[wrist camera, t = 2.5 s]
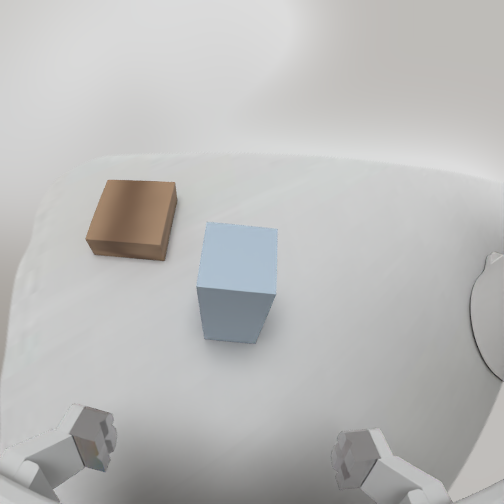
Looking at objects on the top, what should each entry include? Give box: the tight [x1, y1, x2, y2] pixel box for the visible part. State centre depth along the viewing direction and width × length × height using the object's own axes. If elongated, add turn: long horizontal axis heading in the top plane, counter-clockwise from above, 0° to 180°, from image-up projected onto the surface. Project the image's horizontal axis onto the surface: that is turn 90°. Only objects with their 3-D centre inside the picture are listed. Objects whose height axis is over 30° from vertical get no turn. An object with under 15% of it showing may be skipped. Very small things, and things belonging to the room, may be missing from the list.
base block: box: [86, 180, 177, 261], centre depth 28 cm, size 7×7×3 cm
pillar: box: [196, 222, 278, 344], centre depth 21 cm, size 4×4×10 cm
